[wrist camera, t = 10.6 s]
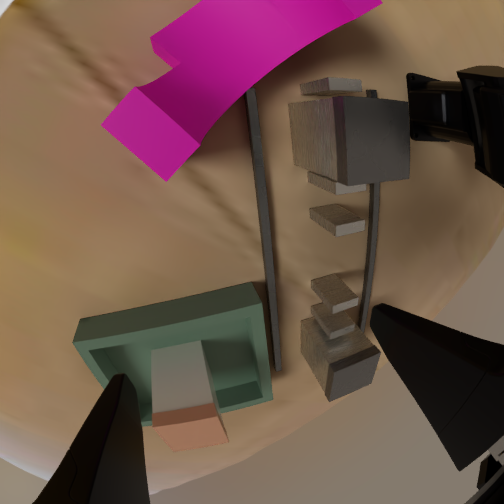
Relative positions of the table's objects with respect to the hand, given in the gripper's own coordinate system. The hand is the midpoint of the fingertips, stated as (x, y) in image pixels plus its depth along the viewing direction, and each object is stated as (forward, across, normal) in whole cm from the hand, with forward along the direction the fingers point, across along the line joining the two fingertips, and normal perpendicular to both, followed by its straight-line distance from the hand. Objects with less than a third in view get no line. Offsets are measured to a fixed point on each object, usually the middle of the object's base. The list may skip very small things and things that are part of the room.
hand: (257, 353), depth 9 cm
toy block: (+13, -2, -12) cm, 18 cm away
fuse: (+12, +5, +12) cm, 17 cm away
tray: (+12, +5, +12) cm, 18 cm away
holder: (+12, -9, +4) cm, 16 cm away
